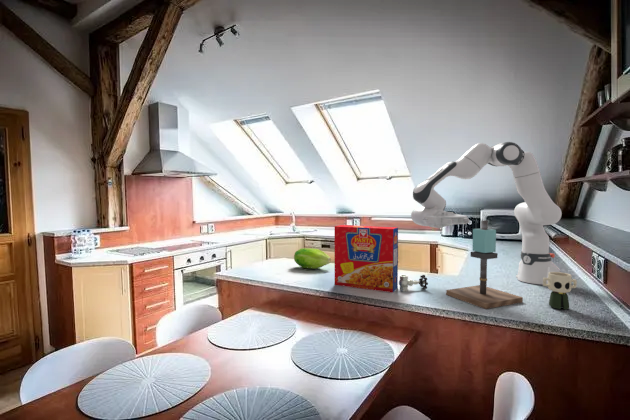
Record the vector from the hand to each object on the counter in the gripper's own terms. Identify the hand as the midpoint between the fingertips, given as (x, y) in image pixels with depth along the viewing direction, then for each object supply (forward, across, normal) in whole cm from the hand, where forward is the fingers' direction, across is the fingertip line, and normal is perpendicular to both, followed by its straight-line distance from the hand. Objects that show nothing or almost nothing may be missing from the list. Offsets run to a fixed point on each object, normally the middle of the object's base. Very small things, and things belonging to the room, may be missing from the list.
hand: (460, 221), depth 151 cm
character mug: (+33, +16, +30) cm, 48 cm away
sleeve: (+13, 0, +11) cm, 17 cm away
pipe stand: (+13, 0, +31) cm, 33 cm away
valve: (-9, -18, +32) cm, 37 cm away
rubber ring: (+13, 0, +14) cm, 19 cm away
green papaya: (-68, -42, +33) cm, 86 cm away
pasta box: (-22, -34, +32) cm, 52 cm away
